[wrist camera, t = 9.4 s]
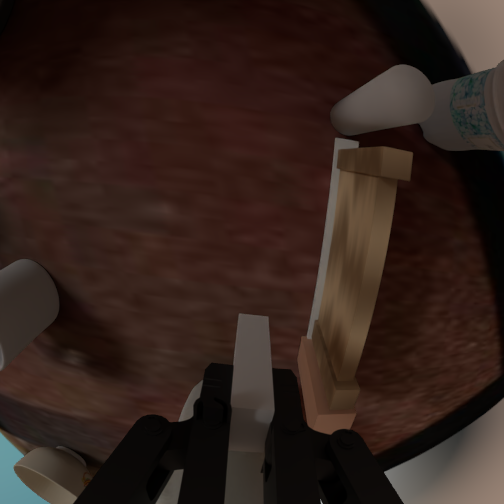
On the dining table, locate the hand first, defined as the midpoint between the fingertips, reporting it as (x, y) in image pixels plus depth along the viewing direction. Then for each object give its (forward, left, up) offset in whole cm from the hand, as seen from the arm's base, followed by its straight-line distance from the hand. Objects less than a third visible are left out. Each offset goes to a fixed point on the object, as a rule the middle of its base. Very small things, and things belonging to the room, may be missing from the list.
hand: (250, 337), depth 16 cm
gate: (-2, +7, -12) cm, 14 cm away
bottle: (-15, +16, -13) cm, 26 cm away
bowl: (+42, -30, -13) cm, 53 cm away
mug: (+8, -27, -13) cm, 31 cm away
